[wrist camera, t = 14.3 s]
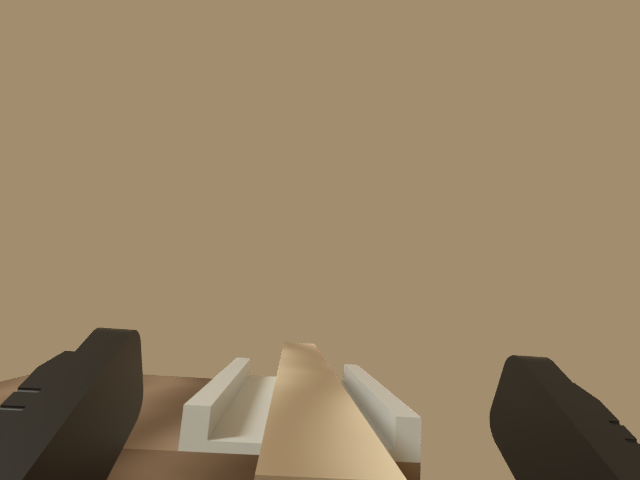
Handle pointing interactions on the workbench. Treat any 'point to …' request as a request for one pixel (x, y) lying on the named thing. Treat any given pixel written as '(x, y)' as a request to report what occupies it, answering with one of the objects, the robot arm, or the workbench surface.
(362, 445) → the beige wooden rod
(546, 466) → the robot arm
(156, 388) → the shelf
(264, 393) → the trough
